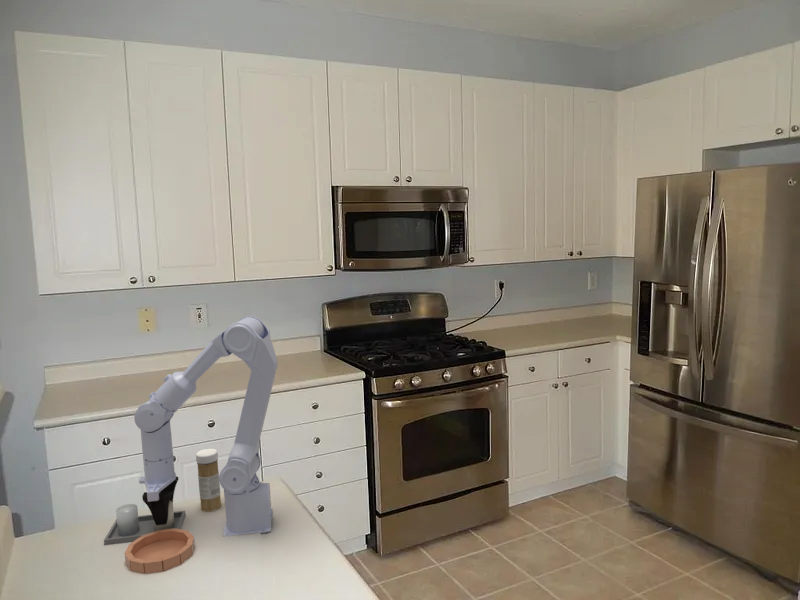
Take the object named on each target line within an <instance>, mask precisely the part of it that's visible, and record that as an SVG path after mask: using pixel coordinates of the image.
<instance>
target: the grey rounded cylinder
mask: <svg viewBox="0 0 800 600" xmlns="http://www.w3.org/2000/svg"><path fill="white" fill-rule="evenodd" d="M138 511H139V509H138V505H137V504H134V503H128V504H124V505H121V506H119V507H118V508H117V509H116V510H115V513H116V519H117V525H118V535H119V536H131V535H133V534H136V533H137V532H138V531H139V519H138V516H139V512H138Z"/></svg>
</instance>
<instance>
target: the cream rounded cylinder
mask: <svg viewBox="0 0 800 600" xmlns="http://www.w3.org/2000/svg"><path fill="white" fill-rule="evenodd" d="M174 512H175V511H174V501H173V502H172V501H170V502H169V509H168V520H167V524H164V525H156V524H155V522H154V530H155V531H157V530H164V529H172V528H174V526H175V523H174ZM153 521H154V519H153Z"/></svg>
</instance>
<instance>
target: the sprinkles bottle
mask: <svg viewBox="0 0 800 600" xmlns="http://www.w3.org/2000/svg"><path fill="white" fill-rule="evenodd" d="M218 452H219V451H218V450H217V449H215V448H205V449H201V450H199V451H197V452H196V454H195V460H196V464H197V473H198V474H197V478H198V488H199V489H198V490H199V497H200V498H199V500H200V511H201V512H204V513H209V512H215V511H217V510H219V509H221V508H222V505H223V504H222V502H221V501H222V500H221V484H220V481H219V475H220V472H219V465H218V464H219V463H218V461H219V460H218V459H219V454H218Z"/></svg>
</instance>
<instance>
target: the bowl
mask: <svg viewBox="0 0 800 600" xmlns="http://www.w3.org/2000/svg"><path fill="white" fill-rule="evenodd" d="M195 548H196V545H195V536H194V535H193V534H192V533H191V532H190V531H189V530H188V529H187V530H186V529H182V528H181V529H176V528H175V529H174V528H173V529H164V530H157V531H154V532H152V533H149V534H146V535H143V536H141V537H139V538H138V539H136V540H135V541H133V542H129V544H128V546H127V547H126V550H125V551H124V560H125V561H124V562H125V565H126V567H127V568H128V570H129V571H131V572H132V573H133V572H134V573H139V574H143V575H144V574H145V575H147V574H154V573H155V574H156V573H162V572H166V571H168V570H171V569H173V568H176V567H178V566H180V565H183V564H184V563H185V562H186V561H187V560H188V559H189V558H191V557H192V556H193V554H194V551H195Z"/></svg>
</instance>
